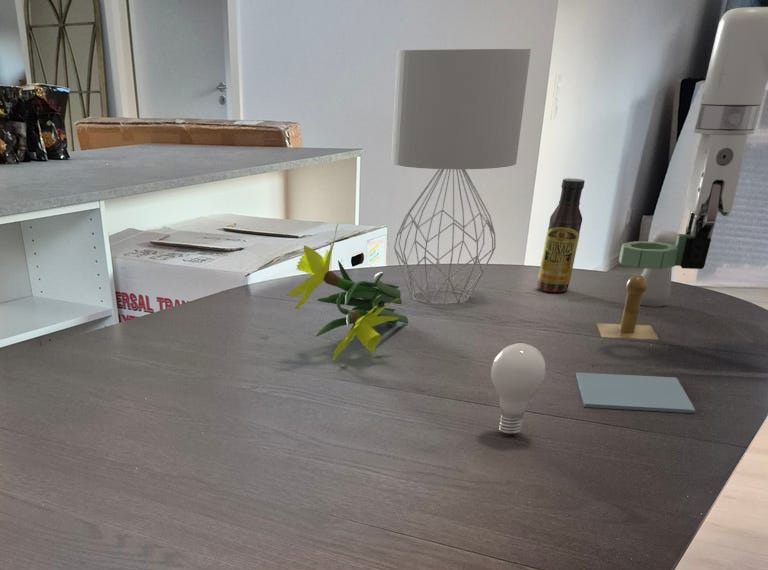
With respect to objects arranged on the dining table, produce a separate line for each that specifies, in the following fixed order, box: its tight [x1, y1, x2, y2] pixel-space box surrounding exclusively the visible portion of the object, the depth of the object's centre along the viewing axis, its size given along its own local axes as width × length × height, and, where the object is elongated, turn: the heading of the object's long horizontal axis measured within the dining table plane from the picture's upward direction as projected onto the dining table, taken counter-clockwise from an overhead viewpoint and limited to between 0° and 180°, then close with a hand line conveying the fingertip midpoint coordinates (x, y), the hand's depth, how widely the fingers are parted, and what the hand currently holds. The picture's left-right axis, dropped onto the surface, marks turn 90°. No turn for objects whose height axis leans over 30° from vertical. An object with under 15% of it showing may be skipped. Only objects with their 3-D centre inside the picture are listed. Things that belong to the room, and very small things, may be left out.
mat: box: [575, 372, 696, 414], centre depth 118 cm, size 14×14×1 cm
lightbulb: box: [490, 342, 547, 437], centre depth 102 cm, size 6×6×11 cm
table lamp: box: [390, 48, 532, 305], centre depth 155 cm, size 22×22×40 cm
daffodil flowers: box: [286, 223, 409, 362], centre depth 135 cm, size 17×15×35 cm
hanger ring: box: [618, 233, 690, 269], centre depth 125 cm, size 11×8×4 cm, turn 77°
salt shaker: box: [640, 230, 679, 308], centre depth 155 cm, size 6×6×13 cm
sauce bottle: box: [536, 177, 585, 294], centre depth 165 cm, size 6×6×20 cm
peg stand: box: [596, 274, 660, 341], centre depth 140 cm, size 9×9×10 cm
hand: (690, 265), depth 125 cm, fingers closed on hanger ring
